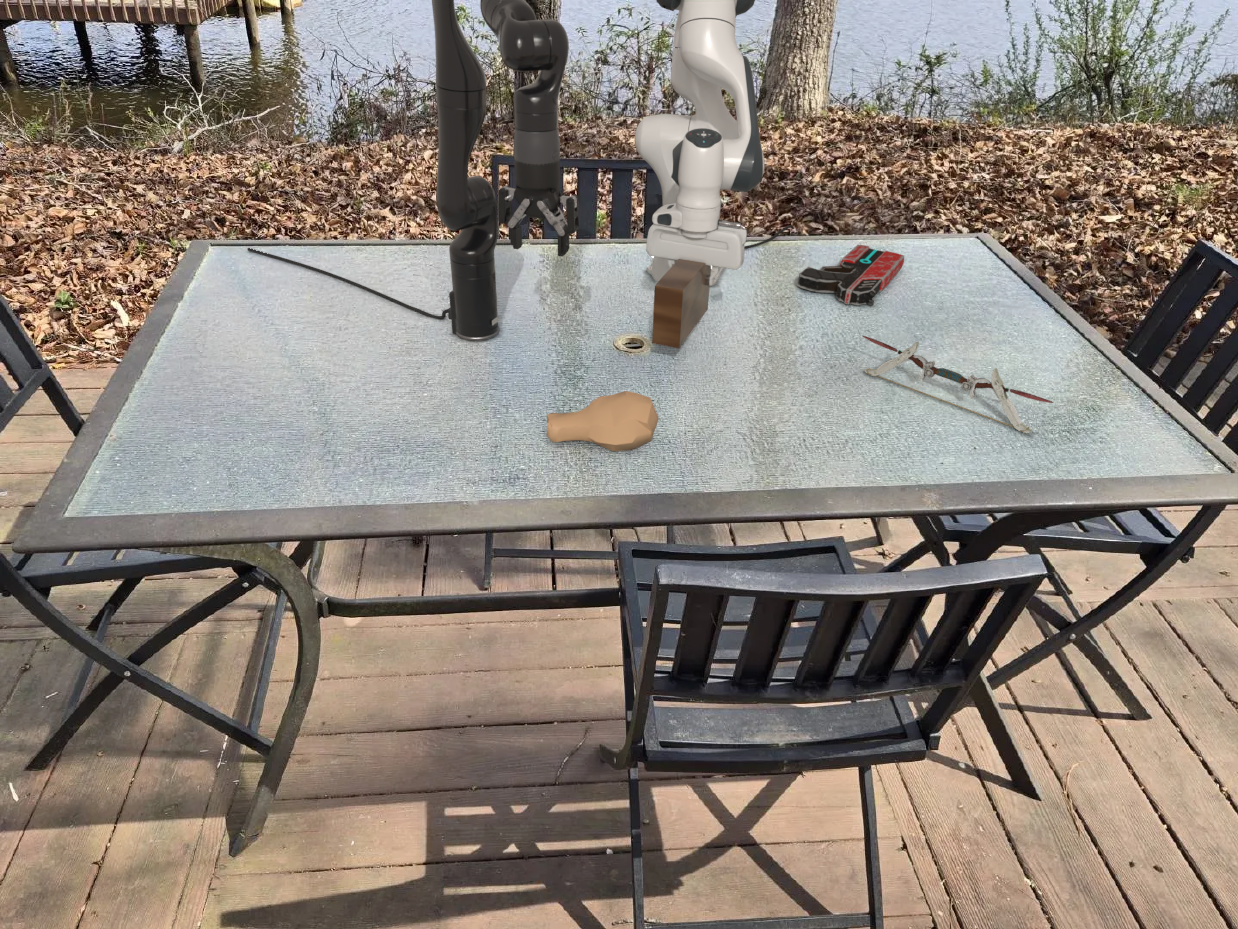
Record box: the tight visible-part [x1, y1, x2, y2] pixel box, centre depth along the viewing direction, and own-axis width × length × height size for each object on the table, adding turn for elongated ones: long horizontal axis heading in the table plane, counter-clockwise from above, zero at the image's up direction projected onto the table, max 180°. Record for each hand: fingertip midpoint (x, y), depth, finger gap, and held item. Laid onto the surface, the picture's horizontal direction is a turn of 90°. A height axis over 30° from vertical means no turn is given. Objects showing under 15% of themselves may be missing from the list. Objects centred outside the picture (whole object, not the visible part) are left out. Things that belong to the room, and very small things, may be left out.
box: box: [651, 259, 711, 349], centre depth 178 cm, size 20×6×12 cm, turn 159°
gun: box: [796, 244, 905, 307], centre depth 222 cm, size 4×31×19 cm
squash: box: [545, 390, 660, 452], centre depth 154 cm, size 11×20×9 cm, turn 90°
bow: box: [861, 335, 1054, 434], centre depth 169 cm, size 39×2×10 cm, turn 47°
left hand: (539, 251), depth 152 cm, fingers open, 8 cm apart
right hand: (692, 281), depth 183 cm, fingers closed on box, 6 cm apart
